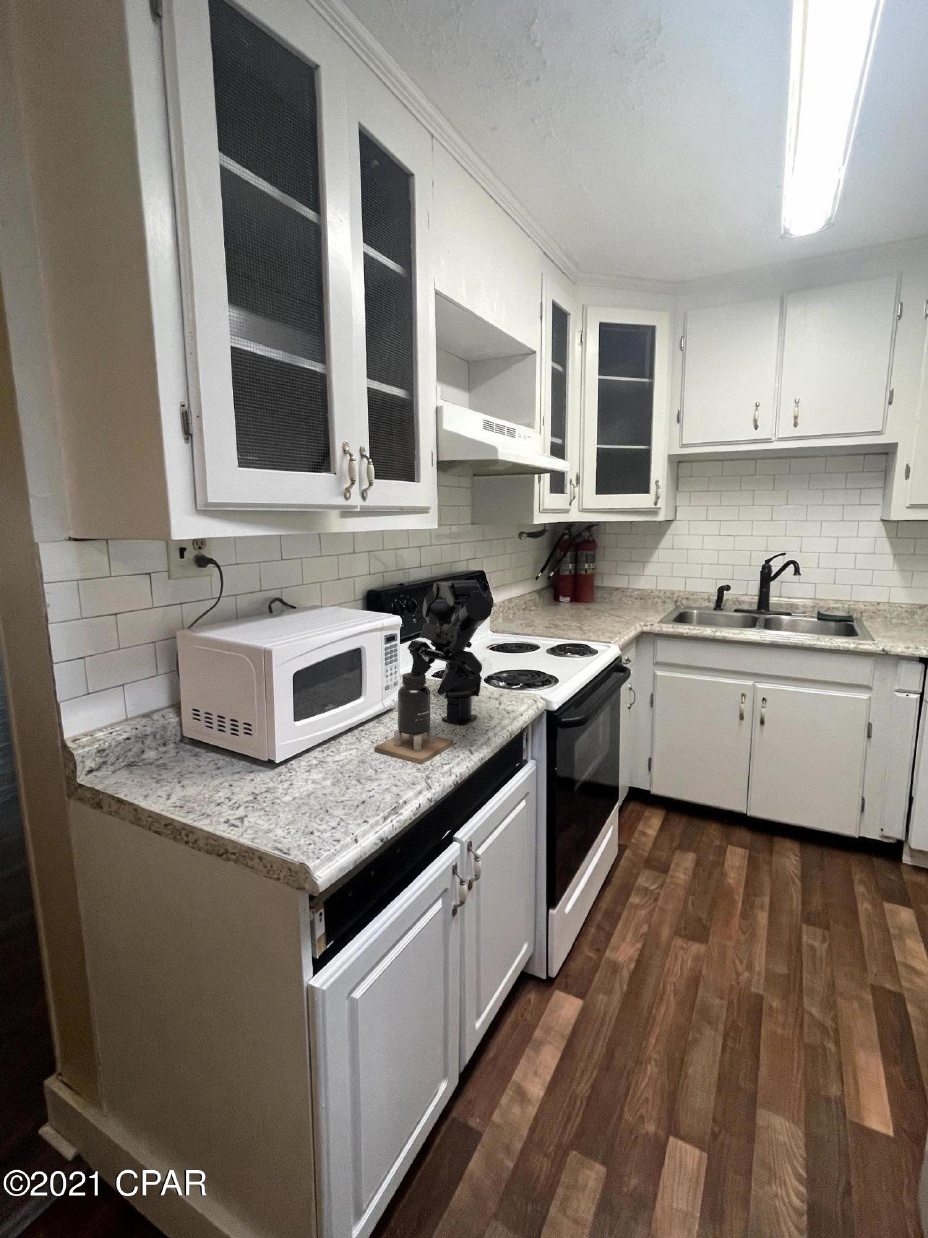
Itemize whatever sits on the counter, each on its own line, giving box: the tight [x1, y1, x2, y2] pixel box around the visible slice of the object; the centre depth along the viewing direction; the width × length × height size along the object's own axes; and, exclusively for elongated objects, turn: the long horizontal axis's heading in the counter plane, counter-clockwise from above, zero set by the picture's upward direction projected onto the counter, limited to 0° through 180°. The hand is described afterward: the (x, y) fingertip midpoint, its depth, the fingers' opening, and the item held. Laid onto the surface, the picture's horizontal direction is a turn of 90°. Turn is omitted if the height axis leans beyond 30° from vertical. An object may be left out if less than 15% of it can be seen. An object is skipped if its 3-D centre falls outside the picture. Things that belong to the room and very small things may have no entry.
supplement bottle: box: [397, 671, 431, 735], centre depth 123 cm, size 7×7×12 cm
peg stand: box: [374, 726, 455, 765], centre depth 124 cm, size 12×12×4 cm
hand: (423, 689), depth 125 cm, fingers open, 9 cm apart
